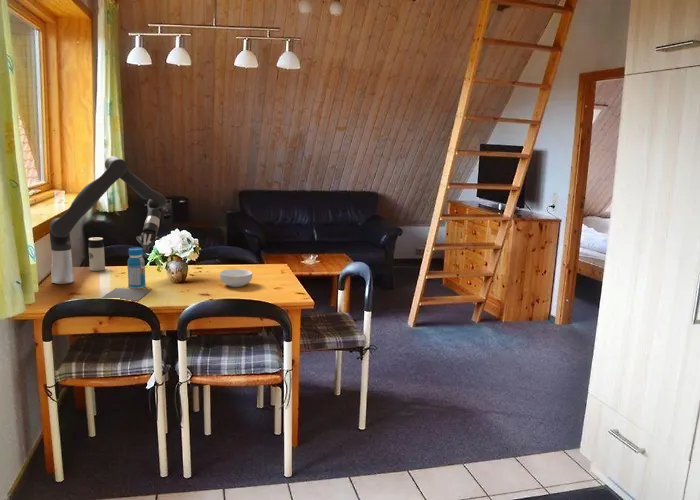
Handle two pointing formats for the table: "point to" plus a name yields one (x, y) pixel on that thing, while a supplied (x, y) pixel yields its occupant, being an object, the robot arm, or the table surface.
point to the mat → (127, 293)
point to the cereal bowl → (236, 277)
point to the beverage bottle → (136, 269)
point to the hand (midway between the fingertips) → (144, 252)
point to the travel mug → (96, 254)
